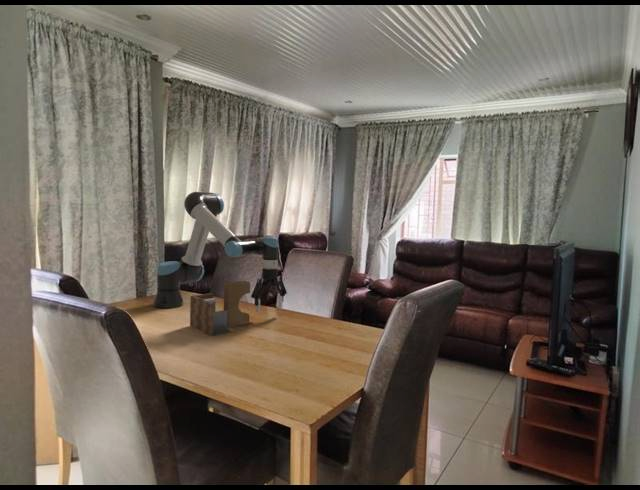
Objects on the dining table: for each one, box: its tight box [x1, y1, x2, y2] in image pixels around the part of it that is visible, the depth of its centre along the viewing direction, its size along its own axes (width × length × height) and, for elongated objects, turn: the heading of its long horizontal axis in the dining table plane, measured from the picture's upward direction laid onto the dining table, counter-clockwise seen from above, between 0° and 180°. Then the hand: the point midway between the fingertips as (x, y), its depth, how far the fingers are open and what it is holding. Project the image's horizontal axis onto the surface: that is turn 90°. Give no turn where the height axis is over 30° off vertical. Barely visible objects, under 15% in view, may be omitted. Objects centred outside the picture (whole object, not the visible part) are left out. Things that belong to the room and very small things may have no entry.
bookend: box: [212, 309, 232, 337], centre depth 180 cm, size 5×9×9 cm, turn 133°
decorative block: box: [223, 280, 251, 328], centre depth 193 cm, size 11×6×20 cm, turn 122°
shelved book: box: [203, 297, 216, 312], centre depth 190 cm, size 3×8×12 cm, turn 133°
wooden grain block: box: [189, 292, 214, 337], centre depth 185 cm, size 18×10×14 cm, turn 43°
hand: (269, 310), depth 206 cm, fingers open, 13 cm apart
